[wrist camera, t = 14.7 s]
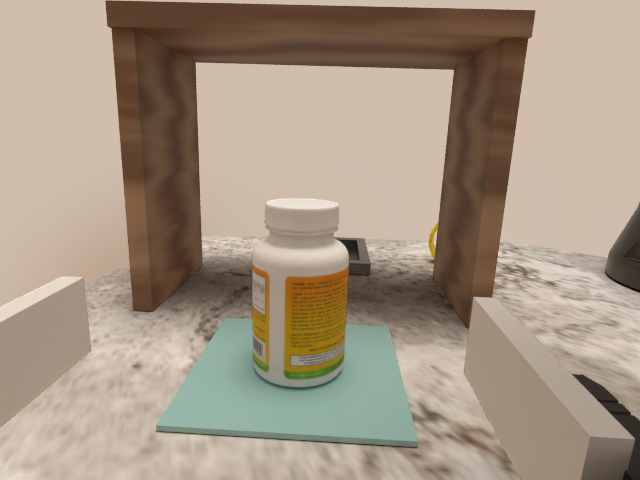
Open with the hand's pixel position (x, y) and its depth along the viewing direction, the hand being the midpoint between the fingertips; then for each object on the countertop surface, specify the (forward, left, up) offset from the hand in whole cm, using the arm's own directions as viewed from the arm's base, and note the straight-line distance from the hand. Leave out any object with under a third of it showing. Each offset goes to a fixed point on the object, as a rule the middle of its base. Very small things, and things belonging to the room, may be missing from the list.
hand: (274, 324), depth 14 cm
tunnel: (+11, -20, -7) cm, 24 cm away
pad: (+5, -8, -7) cm, 12 cm away
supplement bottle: (+5, -8, -7) cm, 12 cm away
